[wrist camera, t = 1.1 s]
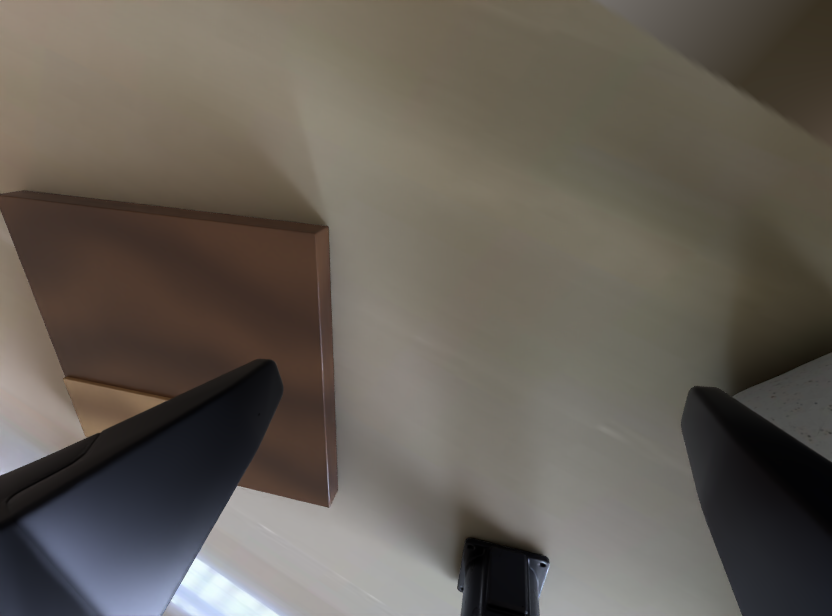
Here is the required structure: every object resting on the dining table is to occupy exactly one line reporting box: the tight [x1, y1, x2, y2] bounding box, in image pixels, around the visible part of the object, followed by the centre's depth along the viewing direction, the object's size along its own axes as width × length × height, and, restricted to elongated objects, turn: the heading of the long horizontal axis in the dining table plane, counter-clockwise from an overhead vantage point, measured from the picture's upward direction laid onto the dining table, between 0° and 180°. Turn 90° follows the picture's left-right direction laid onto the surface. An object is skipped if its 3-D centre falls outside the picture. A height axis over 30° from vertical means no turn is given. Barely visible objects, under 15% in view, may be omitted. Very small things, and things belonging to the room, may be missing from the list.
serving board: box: [0, 191, 338, 508], centre depth 29 cm, size 22×22×2 cm
